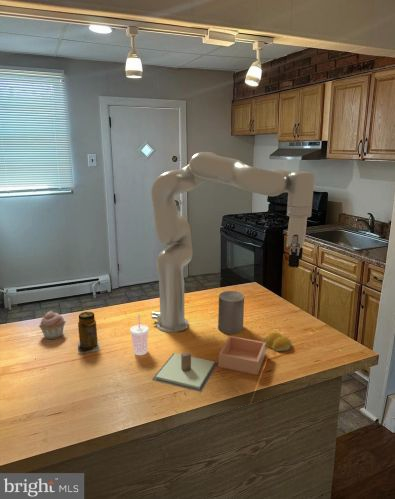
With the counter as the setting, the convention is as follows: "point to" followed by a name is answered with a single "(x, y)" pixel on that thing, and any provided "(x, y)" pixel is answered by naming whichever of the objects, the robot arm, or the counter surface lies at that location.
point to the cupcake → (52, 325)
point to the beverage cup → (139, 338)
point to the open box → (242, 355)
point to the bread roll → (277, 342)
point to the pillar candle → (231, 312)
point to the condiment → (87, 333)
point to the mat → (183, 385)
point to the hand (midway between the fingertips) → (295, 262)
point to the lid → (186, 370)
